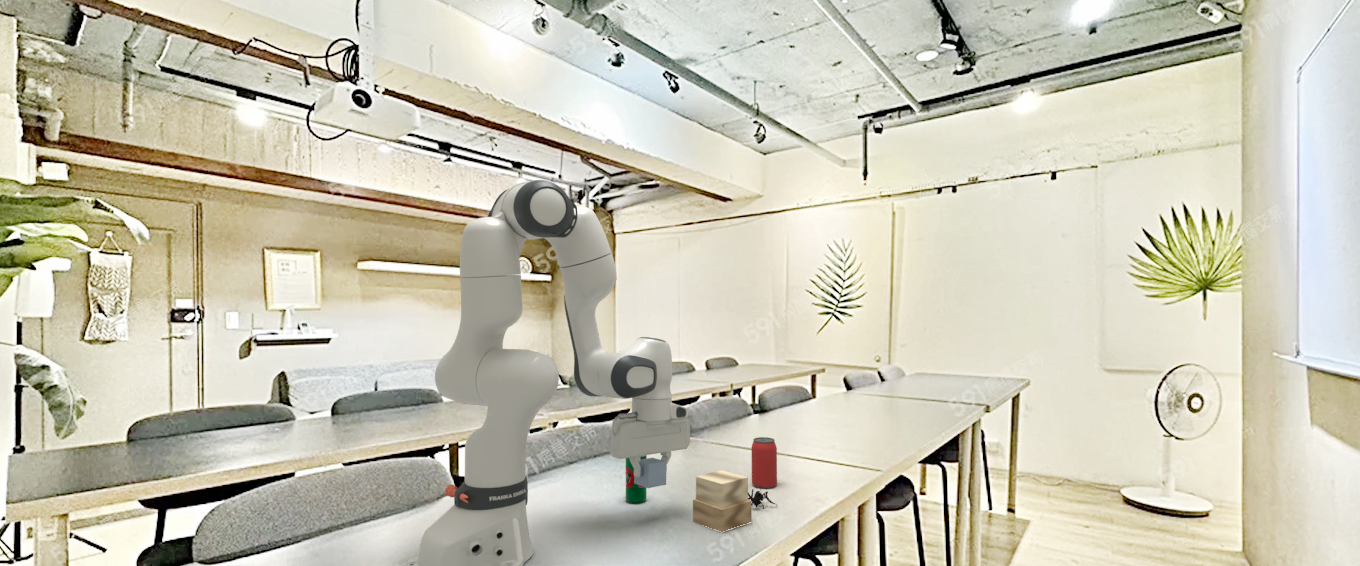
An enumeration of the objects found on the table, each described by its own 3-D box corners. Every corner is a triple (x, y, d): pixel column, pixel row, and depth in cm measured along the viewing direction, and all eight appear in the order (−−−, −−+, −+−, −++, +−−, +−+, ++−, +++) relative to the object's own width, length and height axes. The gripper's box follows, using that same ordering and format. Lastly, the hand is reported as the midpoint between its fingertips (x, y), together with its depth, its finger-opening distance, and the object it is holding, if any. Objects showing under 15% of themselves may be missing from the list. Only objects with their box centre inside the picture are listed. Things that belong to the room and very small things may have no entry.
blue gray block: (648, 488, 132) (648, 464, 133) (634, 483, 136) (634, 460, 136) (666, 484, 136) (666, 461, 136) (652, 480, 139) (652, 457, 140)
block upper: (722, 508, 129) (722, 484, 129) (696, 499, 135) (696, 476, 135) (748, 500, 134) (747, 477, 134) (721, 492, 140) (721, 470, 140)
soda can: (643, 504, 146) (643, 453, 147) (623, 503, 147) (623, 452, 148) (648, 498, 151) (648, 448, 152) (628, 497, 152) (629, 448, 153)
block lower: (721, 534, 128) (721, 509, 128) (692, 522, 135) (692, 499, 135) (751, 524, 134) (751, 500, 134) (722, 513, 140) (722, 491, 141)
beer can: (747, 483, 163) (746, 438, 164) (768, 480, 166) (767, 435, 167) (760, 490, 157) (760, 443, 158) (782, 487, 160) (781, 440, 161)
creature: (749, 504, 150) (737, 506, 143) (751, 481, 151) (739, 482, 144) (780, 509, 146) (769, 511, 139) (782, 485, 147) (770, 486, 141)
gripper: (621, 416, 128) (620, 484, 127) (694, 409, 141) (693, 470, 140) (604, 412, 133) (602, 478, 131) (676, 406, 146) (675, 465, 145)
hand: (650, 474), depth 136 cm, fingers closed on blue gray block, 5 cm apart
